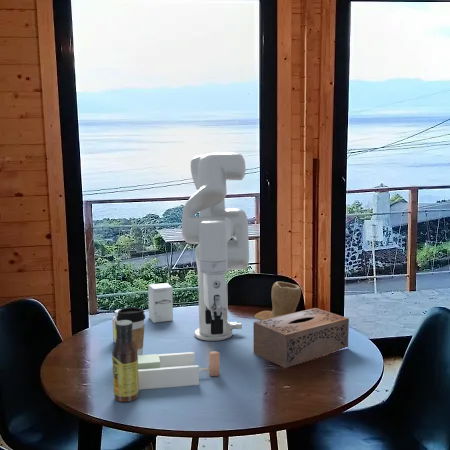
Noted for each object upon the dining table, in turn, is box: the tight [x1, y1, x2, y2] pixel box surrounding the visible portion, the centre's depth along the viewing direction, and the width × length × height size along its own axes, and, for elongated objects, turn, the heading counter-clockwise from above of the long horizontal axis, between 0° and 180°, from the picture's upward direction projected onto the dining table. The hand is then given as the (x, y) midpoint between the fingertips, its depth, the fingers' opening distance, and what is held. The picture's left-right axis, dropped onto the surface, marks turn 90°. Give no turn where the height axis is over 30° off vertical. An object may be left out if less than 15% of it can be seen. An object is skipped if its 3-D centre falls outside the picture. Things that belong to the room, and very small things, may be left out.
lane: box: [138, 351, 200, 391], centre depth 155 cm, size 18×11×6 cm, turn 100°
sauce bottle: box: [111, 320, 140, 403], centre depth 143 cm, size 7×6×20 cm
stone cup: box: [254, 281, 302, 321], centre depth 201 cm, size 15×12×15 cm
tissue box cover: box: [253, 307, 350, 369], centre depth 175 cm, size 26×14×10 cm, turn 125°
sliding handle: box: [137, 350, 221, 377], centre depth 156 cm, size 22×6×6 cm, turn 100°
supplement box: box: [147, 282, 174, 324], centre depth 208 cm, size 7×7×13 cm
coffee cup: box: [117, 307, 146, 355], centre depth 169 cm, size 8×8×15 cm
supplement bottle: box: [112, 308, 122, 344], centre depth 185 cm, size 6×6×10 cm
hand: (214, 328), depth 155 cm, fingers open, 9 cm apart
